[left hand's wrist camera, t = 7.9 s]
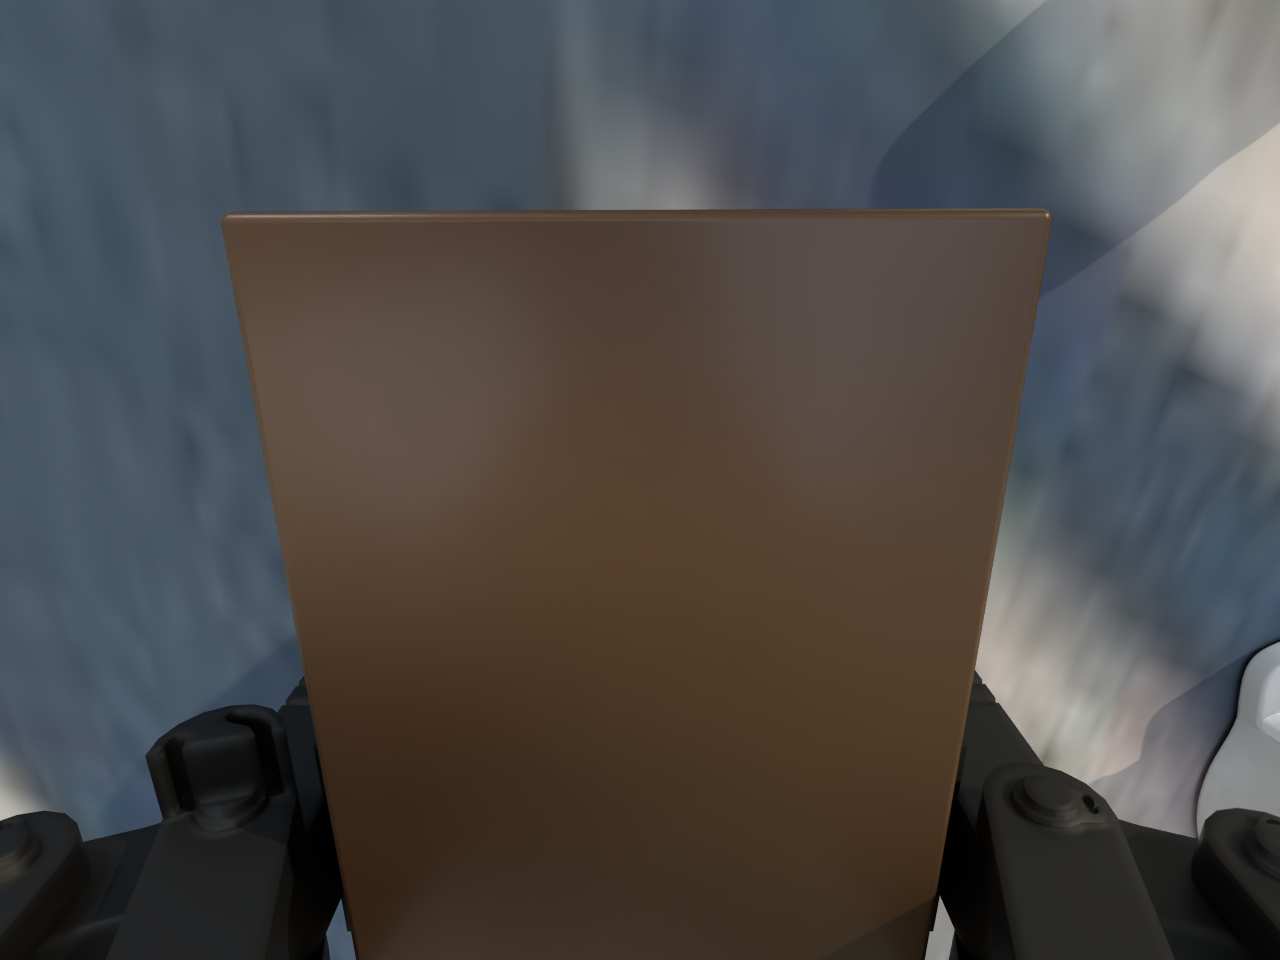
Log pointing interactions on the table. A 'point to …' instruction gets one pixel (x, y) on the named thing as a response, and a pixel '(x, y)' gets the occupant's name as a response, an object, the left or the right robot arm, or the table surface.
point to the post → (638, 561)
